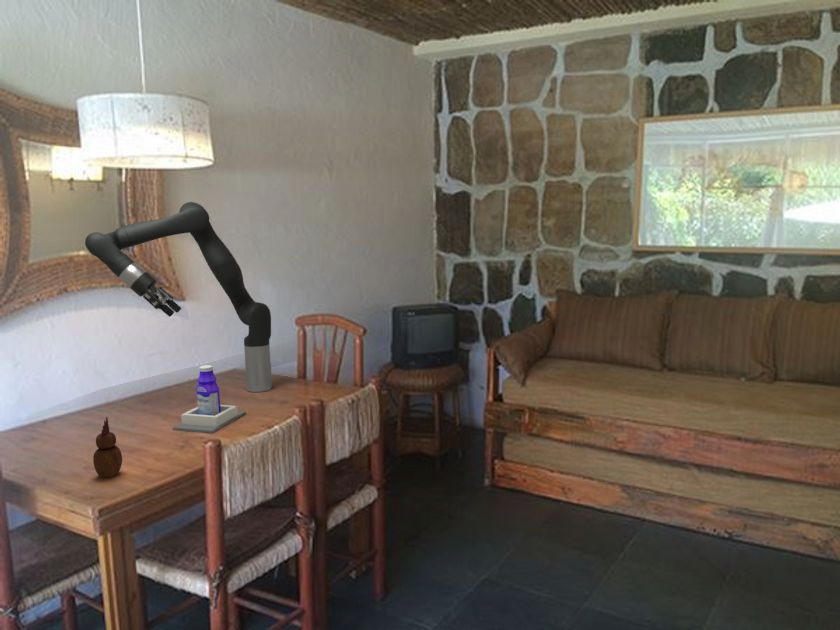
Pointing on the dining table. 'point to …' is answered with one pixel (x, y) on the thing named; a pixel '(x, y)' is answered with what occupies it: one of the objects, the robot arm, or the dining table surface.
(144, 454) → the dining table surface
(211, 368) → the bottle
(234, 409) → the bottle stand
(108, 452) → the wooden figurine
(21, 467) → the dining table surface
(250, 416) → the dining table surface
